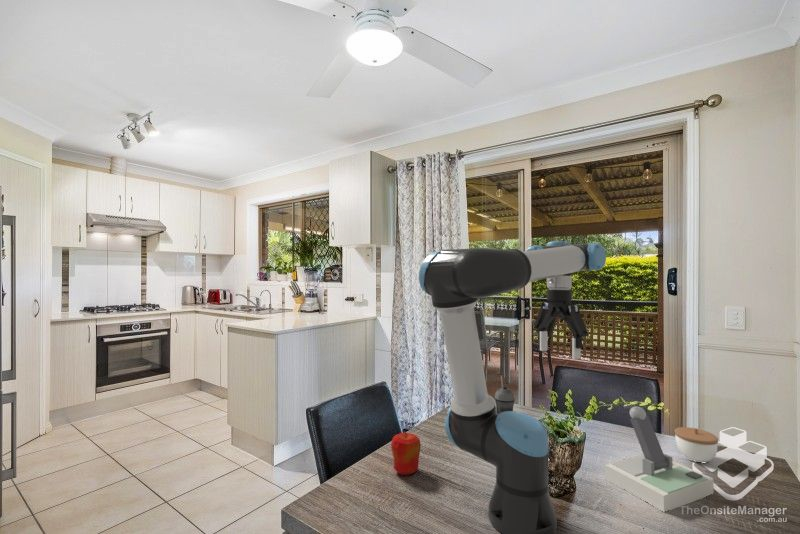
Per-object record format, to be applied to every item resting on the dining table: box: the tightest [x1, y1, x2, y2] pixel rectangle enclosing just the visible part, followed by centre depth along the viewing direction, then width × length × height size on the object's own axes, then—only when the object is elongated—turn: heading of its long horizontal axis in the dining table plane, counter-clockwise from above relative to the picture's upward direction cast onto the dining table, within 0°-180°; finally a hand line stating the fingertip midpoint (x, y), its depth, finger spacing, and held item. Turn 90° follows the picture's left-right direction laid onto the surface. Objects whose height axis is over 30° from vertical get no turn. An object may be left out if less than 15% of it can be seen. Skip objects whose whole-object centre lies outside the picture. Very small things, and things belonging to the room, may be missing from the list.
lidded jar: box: [674, 426, 719, 463], centre depth 119 cm, size 11×11×9 cm
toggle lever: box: [629, 405, 668, 471], centre depth 106 cm, size 4×5×16 cm
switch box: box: [604, 453, 715, 513], centre depth 103 cm, size 16×20×8 cm
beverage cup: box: [493, 375, 516, 414], centre depth 140 cm, size 7×7×20 cm
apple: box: [390, 430, 422, 476], centre depth 111 cm, size 9×8×12 cm
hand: (559, 354), depth 124 cm, fingers open, 13 cm apart
